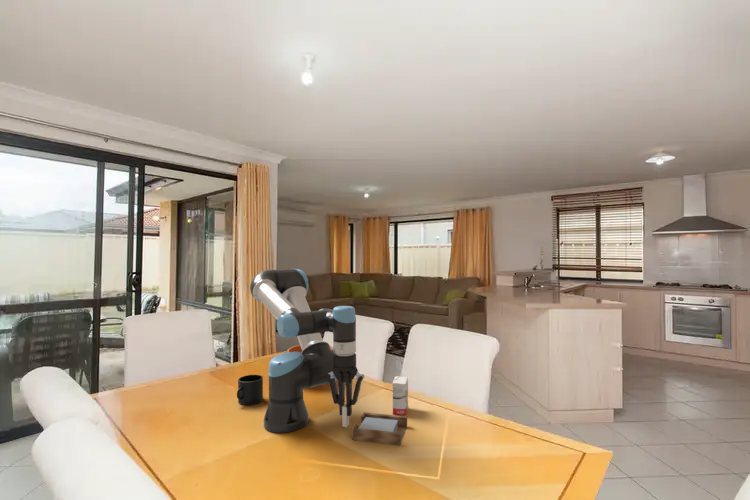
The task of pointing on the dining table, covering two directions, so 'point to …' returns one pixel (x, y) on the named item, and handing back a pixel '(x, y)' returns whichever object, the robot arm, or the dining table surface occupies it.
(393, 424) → the tile
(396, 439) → the box
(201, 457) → the dining table surface
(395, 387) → the ink box
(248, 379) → the mug
